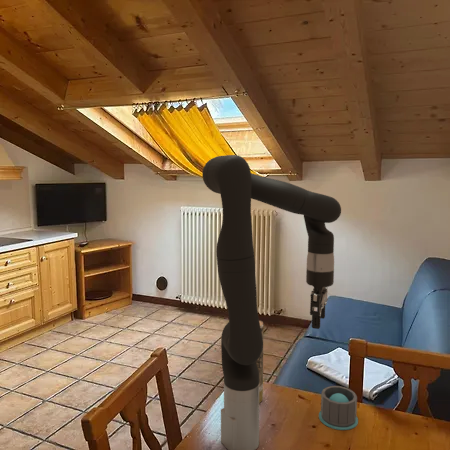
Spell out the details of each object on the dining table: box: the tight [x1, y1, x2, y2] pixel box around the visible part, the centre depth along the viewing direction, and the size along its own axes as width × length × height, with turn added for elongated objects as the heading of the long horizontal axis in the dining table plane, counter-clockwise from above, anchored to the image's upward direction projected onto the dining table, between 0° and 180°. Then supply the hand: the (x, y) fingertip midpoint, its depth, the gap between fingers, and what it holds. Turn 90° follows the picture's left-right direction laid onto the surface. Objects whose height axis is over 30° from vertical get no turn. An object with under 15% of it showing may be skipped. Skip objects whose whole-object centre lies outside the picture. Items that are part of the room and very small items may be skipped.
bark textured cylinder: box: [256, 320, 264, 404], centre depth 132 cm, size 7×7×25 cm
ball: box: [329, 393, 349, 402], centre depth 123 cm, size 6×6×6 cm
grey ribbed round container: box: [318, 385, 359, 431], centre depth 124 cm, size 11×11×7 cm
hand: (318, 322), depth 122 cm, fingers open, 8 cm apart
